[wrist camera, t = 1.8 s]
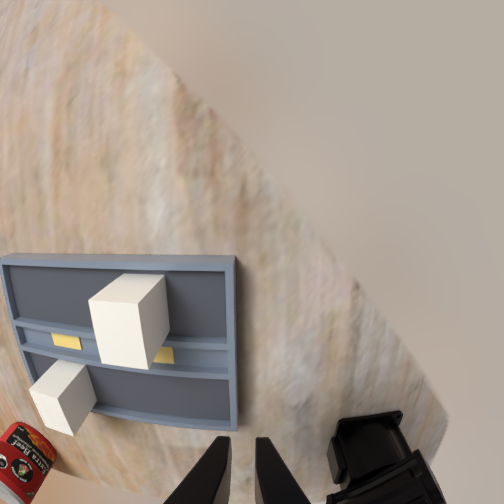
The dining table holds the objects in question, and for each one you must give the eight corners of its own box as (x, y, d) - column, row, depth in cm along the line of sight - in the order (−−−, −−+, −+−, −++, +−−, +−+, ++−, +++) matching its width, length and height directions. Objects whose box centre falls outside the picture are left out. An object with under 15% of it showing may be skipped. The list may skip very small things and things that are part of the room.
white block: (85, 364, 21) (57, 398, 16) (97, 400, 22) (74, 436, 17) (58, 358, 21) (28, 389, 16) (70, 394, 22) (46, 426, 17)
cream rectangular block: (164, 274, 19) (137, 303, 14) (170, 330, 20) (148, 369, 15) (123, 273, 19) (88, 299, 14) (130, 326, 20) (101, 363, 15)
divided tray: (235, 255, 20) (233, 263, 18) (238, 415, 23) (237, 431, 21) (11, 253, 20) (-3, 258, 18) (46, 385, 24) (37, 396, 22)
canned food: (67, 457, 26) (34, 514, 16) (43, 462, 28) (13, 509, 17) (25, 415, 25) (-18, 468, 14) (6, 424, 26) (-30, 469, 15)
